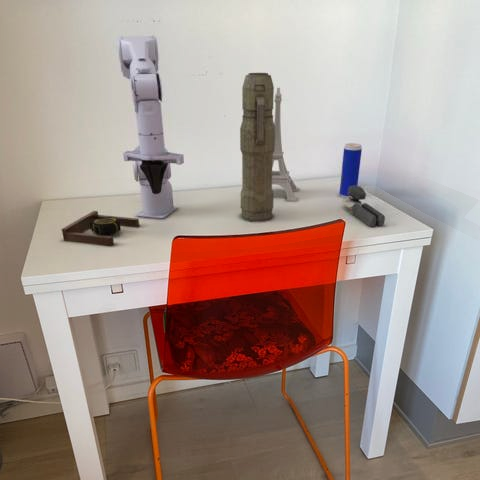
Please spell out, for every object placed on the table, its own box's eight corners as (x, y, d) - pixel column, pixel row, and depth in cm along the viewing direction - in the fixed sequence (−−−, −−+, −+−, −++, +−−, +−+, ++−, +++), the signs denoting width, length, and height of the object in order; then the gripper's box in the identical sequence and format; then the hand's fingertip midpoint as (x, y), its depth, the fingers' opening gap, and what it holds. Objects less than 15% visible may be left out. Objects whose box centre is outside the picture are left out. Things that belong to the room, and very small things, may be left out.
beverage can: (343, 192, 148) (348, 142, 140) (358, 195, 145) (365, 144, 138) (336, 196, 145) (341, 145, 137) (351, 199, 142) (357, 147, 134)
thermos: (246, 225, 124) (246, 75, 105) (236, 211, 133) (234, 72, 115) (278, 222, 125) (283, 74, 107) (266, 208, 135) (269, 71, 117)
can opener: (338, 205, 137) (340, 184, 133) (354, 204, 138) (356, 182, 134) (368, 228, 121) (371, 203, 118) (386, 226, 122) (389, 202, 118)
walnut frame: (95, 221, 127) (93, 210, 126) (139, 225, 124) (138, 214, 122) (63, 240, 116) (61, 229, 114) (111, 246, 112) (109, 234, 111)
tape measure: (116, 227, 123) (114, 213, 121) (125, 235, 118) (123, 221, 116) (90, 232, 120) (87, 218, 118) (98, 241, 115) (95, 226, 113)
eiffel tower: (256, 187, 154) (257, 85, 138) (297, 188, 152) (303, 85, 137) (251, 199, 143) (252, 90, 127) (295, 201, 141) (301, 90, 125)
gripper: (113, 135, 105) (122, 195, 112) (173, 137, 101) (178, 200, 108) (128, 129, 111) (135, 187, 118) (185, 132, 107) (189, 191, 114)
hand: (156, 192), depth 114 cm, fingers closed
